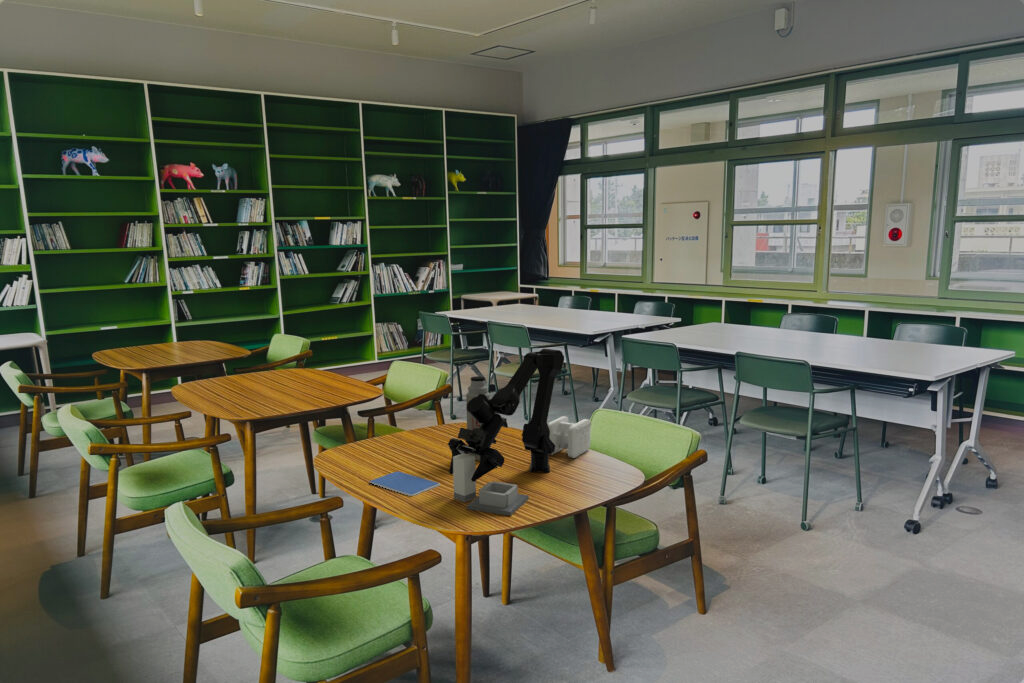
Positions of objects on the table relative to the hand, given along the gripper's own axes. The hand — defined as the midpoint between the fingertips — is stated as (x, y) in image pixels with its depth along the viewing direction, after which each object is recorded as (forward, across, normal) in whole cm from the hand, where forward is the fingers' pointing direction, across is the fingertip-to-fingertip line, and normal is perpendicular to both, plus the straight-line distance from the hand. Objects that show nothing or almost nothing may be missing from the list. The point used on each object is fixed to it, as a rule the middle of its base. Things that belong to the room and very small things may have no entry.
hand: (461, 477), depth 192 cm
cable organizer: (-34, -4, +44) cm, 56 cm away
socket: (+2, +10, +8) cm, 13 cm away
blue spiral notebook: (+7, -22, +3) cm, 24 cm away
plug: (+4, 0, +6) cm, 7 cm away
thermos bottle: (-17, -24, +27) cm, 40 cm away
